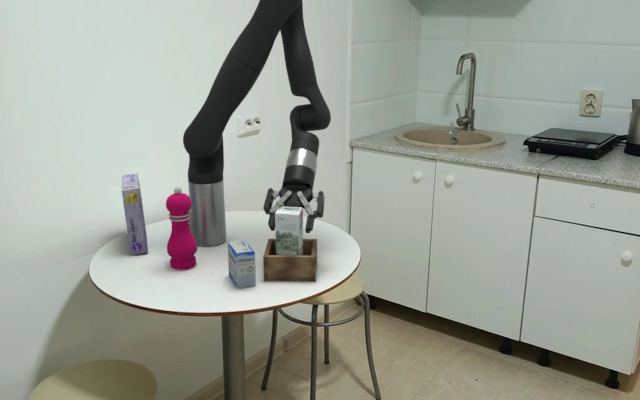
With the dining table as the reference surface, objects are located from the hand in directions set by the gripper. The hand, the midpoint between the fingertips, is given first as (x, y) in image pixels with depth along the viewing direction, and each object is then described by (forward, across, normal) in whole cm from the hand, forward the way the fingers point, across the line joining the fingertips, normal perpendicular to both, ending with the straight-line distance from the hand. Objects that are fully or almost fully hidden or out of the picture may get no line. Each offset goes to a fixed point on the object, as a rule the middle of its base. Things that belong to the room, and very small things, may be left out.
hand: (289, 230), depth 138 cm
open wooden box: (+7, 0, +8) cm, 11 cm away
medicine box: (+12, -10, +3) cm, 16 cm away
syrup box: (+6, 0, +8) cm, 10 cm away
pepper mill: (+8, -27, +7) cm, 29 cm away
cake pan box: (0, -46, +16) cm, 48 cm away
